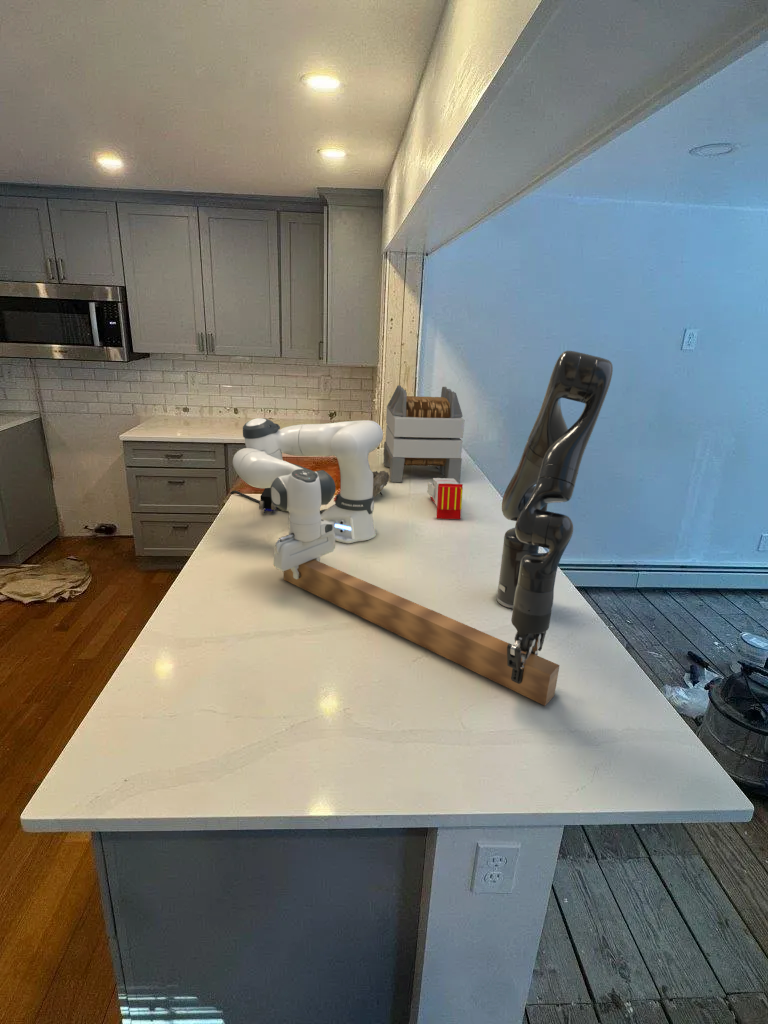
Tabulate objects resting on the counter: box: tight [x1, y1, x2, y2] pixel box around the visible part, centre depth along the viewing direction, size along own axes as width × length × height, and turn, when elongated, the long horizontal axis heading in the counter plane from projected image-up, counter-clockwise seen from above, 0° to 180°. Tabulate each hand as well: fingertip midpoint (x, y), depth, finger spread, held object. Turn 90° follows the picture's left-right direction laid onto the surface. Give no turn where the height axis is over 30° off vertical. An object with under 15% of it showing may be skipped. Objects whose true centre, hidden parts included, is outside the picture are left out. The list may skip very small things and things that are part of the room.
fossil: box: [372, 470, 390, 498], centre depth 238 cm, size 22×10×15 cm
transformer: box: [383, 384, 465, 484], centre depth 268 cm, size 34×33×41 cm
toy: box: [427, 477, 464, 520], centre depth 227 cm, size 12×13×30 cm
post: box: [283, 559, 560, 707], centre depth 140 cm, size 81×4×8 cm, turn 50°
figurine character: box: [258, 488, 277, 515], centre depth 216 cm, size 7×8×15 cm
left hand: (305, 574), depth 160 cm, fingers closed on post, 4 cm apart
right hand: (522, 675), depth 120 cm, fingers closed on post, 4 cm apart
